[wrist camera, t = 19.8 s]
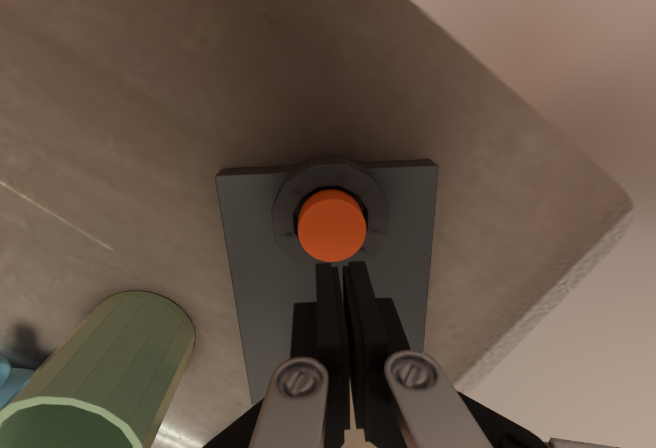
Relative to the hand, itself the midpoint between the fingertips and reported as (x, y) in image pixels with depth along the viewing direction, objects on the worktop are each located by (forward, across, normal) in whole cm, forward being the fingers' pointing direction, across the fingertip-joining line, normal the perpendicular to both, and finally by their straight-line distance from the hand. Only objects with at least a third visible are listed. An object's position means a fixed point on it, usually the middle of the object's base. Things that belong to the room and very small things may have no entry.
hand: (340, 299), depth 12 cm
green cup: (+12, +14, +10) cm, 21 cm away
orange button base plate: (+12, 0, +7) cm, 14 cm away
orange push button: (+8, 0, +1) cm, 9 cm away
